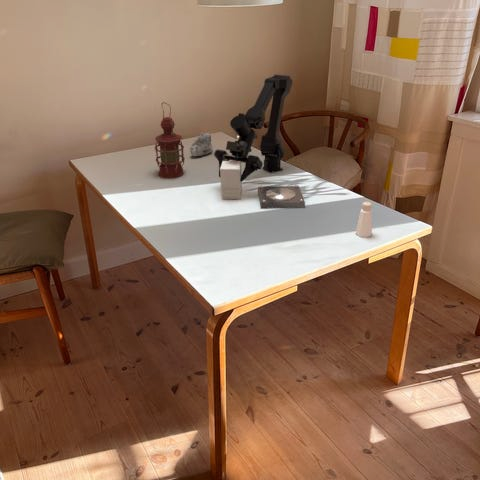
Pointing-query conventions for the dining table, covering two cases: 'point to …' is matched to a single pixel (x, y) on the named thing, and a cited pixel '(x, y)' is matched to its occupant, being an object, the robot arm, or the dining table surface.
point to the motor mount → (281, 197)
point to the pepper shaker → (365, 221)
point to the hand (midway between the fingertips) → (230, 179)
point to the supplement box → (231, 179)
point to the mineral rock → (202, 145)
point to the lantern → (169, 150)
